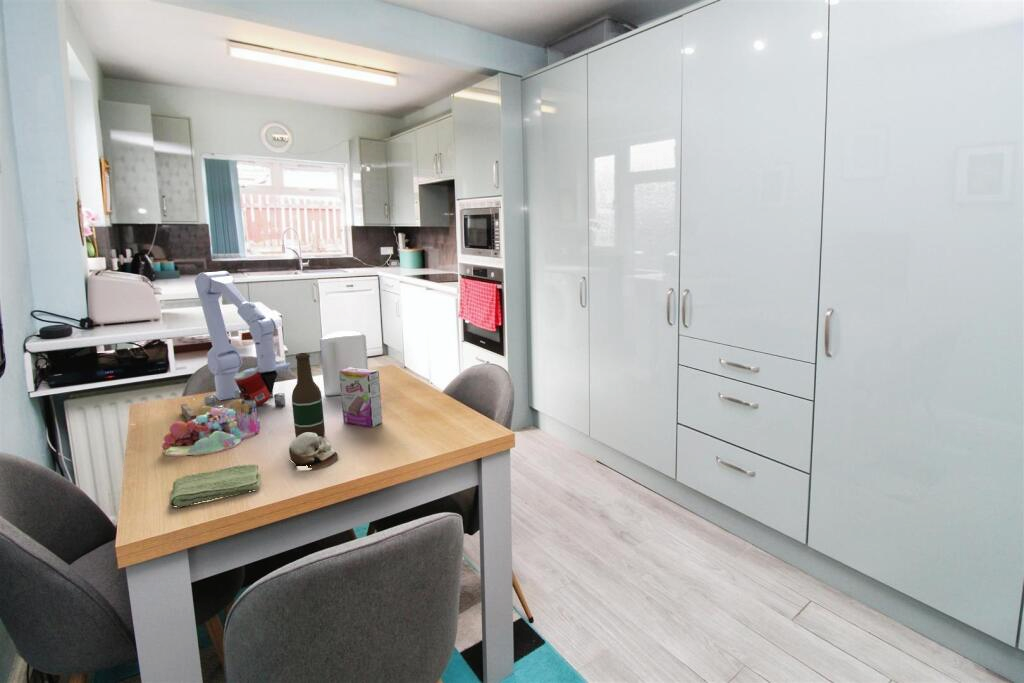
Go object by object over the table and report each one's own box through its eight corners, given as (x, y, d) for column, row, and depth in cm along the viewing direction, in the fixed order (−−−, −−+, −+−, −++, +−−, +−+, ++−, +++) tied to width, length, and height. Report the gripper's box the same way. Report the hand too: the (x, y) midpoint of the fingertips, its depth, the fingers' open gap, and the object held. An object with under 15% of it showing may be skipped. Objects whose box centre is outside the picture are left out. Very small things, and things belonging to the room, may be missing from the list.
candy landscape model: (173, 431, 161) (169, 401, 159) (261, 419, 170) (257, 390, 168) (157, 463, 138) (152, 428, 136) (259, 447, 147) (255, 414, 145)
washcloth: (262, 493, 121) (261, 479, 120) (169, 513, 113) (167, 498, 112) (258, 471, 132) (257, 458, 132) (174, 488, 124) (171, 475, 124)
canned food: (275, 393, 187) (262, 365, 183) (263, 405, 179) (250, 376, 175) (255, 397, 188) (242, 369, 184) (243, 409, 181) (229, 380, 177)
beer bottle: (297, 444, 147) (288, 358, 142) (294, 435, 154) (285, 352, 149) (327, 439, 151) (319, 354, 146) (323, 430, 157) (315, 349, 153)
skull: (328, 443, 145) (334, 422, 138) (338, 478, 140) (345, 458, 133) (280, 452, 139) (284, 431, 132) (289, 489, 134) (294, 469, 127)
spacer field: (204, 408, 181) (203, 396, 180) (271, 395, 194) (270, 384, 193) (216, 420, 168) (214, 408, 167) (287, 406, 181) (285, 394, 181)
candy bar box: (342, 423, 163) (337, 370, 160) (353, 418, 168) (349, 366, 164) (372, 428, 159) (368, 373, 155) (383, 423, 163) (379, 369, 160)
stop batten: (182, 413, 176) (180, 404, 176) (187, 412, 177) (186, 403, 177) (191, 425, 164) (190, 416, 164) (197, 424, 165) (196, 415, 165)
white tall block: (341, 384, 206) (336, 327, 202) (377, 385, 204) (373, 327, 200) (322, 396, 191) (316, 335, 187) (361, 397, 189) (356, 335, 185)
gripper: (245, 359, 175) (251, 400, 178) (291, 352, 184) (296, 391, 187) (240, 356, 181) (245, 396, 183) (285, 349, 190) (289, 387, 192)
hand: (270, 393), depth 185 cm, fingers closed, pressing on canned food
